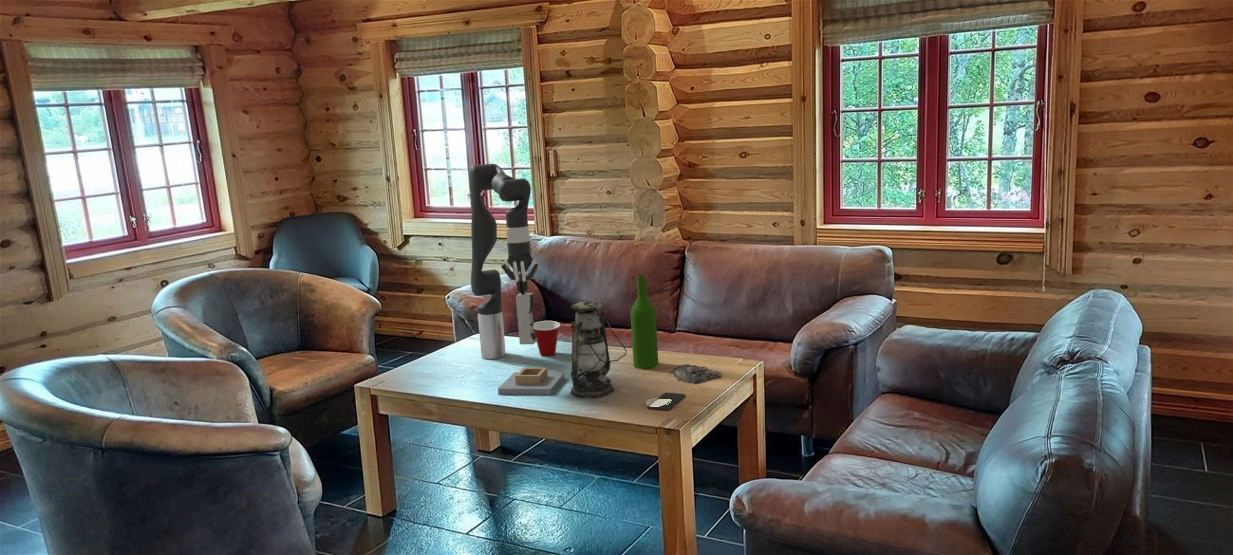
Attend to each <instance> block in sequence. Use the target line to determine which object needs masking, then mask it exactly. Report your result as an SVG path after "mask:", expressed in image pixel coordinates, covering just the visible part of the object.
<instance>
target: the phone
mask: <svg viewBox="0 0 1233 555" xmlns="http://www.w3.org/2000/svg"><path fill="white" fill-rule="evenodd" d="M684 398H686V394H685V393H679V392H678V393H677V392H664V393H663V394H661V395H660V396H659V397H658V398H657V399H671V400H672V401H670V402H671V403H669V402H668V403H669V404H668V403H667V404H668V405H666V404H665V405H663V406H660V407H650V405H648V407H647V408H648V410H652V409H653V411H662V410H663V411H664V412H669V411H671V410H672V409H674V408H675V407H676V406H677V405H678V404H679V403H680V402H682V401H683V400H684ZM675 405H676V406H675ZM674 406H675V407H674ZM654 409H655V410H654Z"/></svg>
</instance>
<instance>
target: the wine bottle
mask: <svg viewBox="0 0 1233 555" xmlns="http://www.w3.org/2000/svg"><path fill="white" fill-rule="evenodd" d="M636 278H637V280H636V281H637V283H636V284H637V298H636V299H635V302H634V303H633V304H632V307H631V309H630V310H631V311H630V325H631V326H630V327H631V343H632V344H631V345H632V361H633V362H632V365H633V368H635V369H638V370H650V369H651V370H652V369H654V368H657V367H658V366H659V352H658V350H659V349H658V348H659V346H658V331H657V330H658V329H657V312H656V307H655V306H654V304H653V303H652V302H651V300H650V299H649V297H648V294H647V293H648V292H647V279H646V278H647V276H646V275H645V274H639V275H637V276H636Z"/></svg>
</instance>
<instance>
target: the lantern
mask: <svg viewBox="0 0 1233 555" xmlns="http://www.w3.org/2000/svg"><path fill="white" fill-rule="evenodd" d="M603 306H604V304H603V303H601V302H597V301H590V300H589V301H587V300H586V301H579V302H578V303H574V304H573V305H571V306H570V308H571V309H572V310H575V311H576V312H575V321H574V320H572V321H571V325H570V326H571V328H572V331H571V332H572V333H571V339H572V340H571V371H570V377H571V381H572V387H571V388H570V392H569V393H570V395H571V396H572V395H573V397H575V398H578V399H599V398H598V397H600V398H604V397H607V396H610V395H612V394H613V393H614V392H615V387H614V386H613V384H612V383H611V379H610V378H609V377H607V376H606V375H607V374H608V373H609V371H610V368H611V362H619V360H621V359H622V358H623V357H625V356H626V355H627V349H626V346H624V344H623V342H621V340H620V339H619V338H618V337H617V335H616V334H615V332H614V331H613V330H612V327H611V324H610V323H609V322H608V320H607V319H606V317H605V314H604V312H603V311H599V310H598V309H600V308H602V307H603ZM605 322H606V323H607V325H608V328H609V330H610V332H611V334H613V336H614V337H615V338H616V339H617V341H618V342H619V344H620V345H621V346H622V348H623V349H624V350H625V353H623V355H622V356H619V357H618V358H617V359H613V360H611V359H610V353H609V346H608V341H607V340H608V339H607V333H606V325H605ZM603 396H604V397H603Z"/></svg>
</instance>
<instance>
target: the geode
mask: <svg viewBox="0 0 1233 555" xmlns="http://www.w3.org/2000/svg"><path fill="white" fill-rule="evenodd" d="M670 371H671V373H670V375H671V374H673V376H672V377H674V376H675V377H674V378H676V377H677V378H676V379H677V382H680V381H682V383H685V382H686V383H685V384H691V383H692V385H698V383H699V384H702V383H701V382H703V383H706V382H707V380H708V381H710V380H714V379H713V378H715V379H719V378H722V377H723V374H722V372H720V371H714V370H712V369H709V368H708V367H706V366H698V365H696V364H693V365H691V364H690V363H689V364H688V363H686V364H681V365H675V367H673V368H672V369H671V370H670ZM705 381H706V382H705Z"/></svg>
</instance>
